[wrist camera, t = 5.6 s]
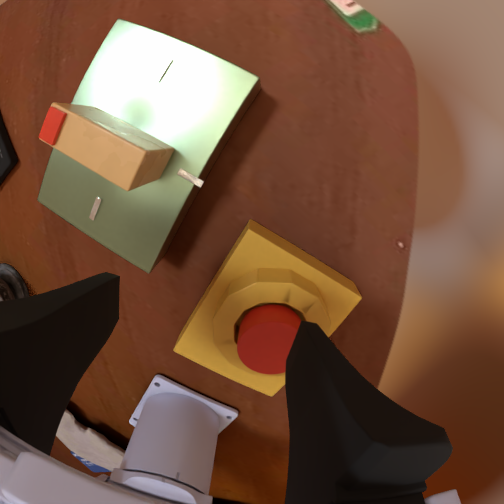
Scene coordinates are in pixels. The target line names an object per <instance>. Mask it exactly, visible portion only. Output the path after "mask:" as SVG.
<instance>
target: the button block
mask: <svg viewBox="0 0 504 504" xmlns="http://www.w3.org/2000/svg"><path fill="white" fill-rule="evenodd" d="M361 299H362V297H361V295H360V293H359V291H358V289H357V288H356V286H355V284H354V282H353V281H351V280H349V279H348V278H346V277H345V276H343V275H342V274H340V273H338V272H337V271H335V270H334V269H332V268H330V267H329V266H327V265H326V264H324V263H322V262H321V261H319V260H318V259H316V258H314V257H313V256H311V255H309V254H308V253H306V252H305V251H303V250H301V249H300V248H298V247H296V246H295V245H293V244H292V243H290V242H288V241H287V240H285V239H283V238H282V237H280V236H278V235H277V234H275V233H273V232H272V231H270V230H268V229H267V228H265V227H263V226H262V225H260V224H258V223H257V222H255V221H253V220H252V219H250V220H249V222H248V223H247V225H246V227H245V228H244V230H243V231H242V233H241V235H240V236H239V238H238V239H237V241H236V243H235V244H234V246H233V247H232V249H231V251H230V252H229V254H228V255H227V257H226V259H225V260H224V262H223V264H222V265H221V267H220V268H219V270H218V272H217V273H216V275H215V277H214V278H213V280H212V281H211V283H210V285H209V286H208V288H207V290H206V291H205V293H204V294H203V296H202V298H201V299H200V301H199V303H198V304H197V306H196V308H195V309H194V311H193V313H192V314H191V316H190V318H189V319H188V321H187V323H186V324H185V326H184V328H183V329H182V331H181V333H180V335H179V337H178V340H177V342H176V345H175V347H174V349H173V351H175V352H177V353H179V354H180V355H182V356H184V357H186V358H188V359H190V360H192V361H194V362H196V363H198V364H200V365H202V366H204V367H206V368H208V369H210V370H212V371H214V372H217V373H219V374H221V375H223V376H225V377H227V378H229V379H232V380H234V381H236V382H238V383H241V384H243V385H245V386H247V387H250V388H252V389H254V390H257V391H259V392H261V393H264V394H266V395H269V396H271V397H272V396H273V395H274V394H275V393H276V392H277V391H278V390H279V389H280V388H281V387H282V386H283V385H284V384H285V372H284V373H281V374H274V375H269V374H261V373H258V372H255V371H253V370H251V369H249V368H248V367H247V366H245V365H244V364H243V362H242V361H241V360H240V358H239V356H238V353H237V342H238V335H239V328H240V324H241V321H242V320H243V318H244V317H245V315H246V314H247V313H249V312H250V311H251V310H253V309H255V308H257V307H259V306H263V305H268V304H275V305H282V306H285V307H287V308H289V309H291V310H293V311H294V312H295V313H296V314H297V315H298V316H299V317H300V319H301V320H303V321H308V322H313V323H317V324H318V325H319V326H320V328H321V329H322V330H323V331H324V333H325V334H326V335H327V336H328V338H329V336H330V335H331V334H332V333H333V332H334V331H335V330H336V328H337V327H338V326H339V325H340V324H341V323H342V322H343V320H344V319H345V318H346V317H347V316H348V314H349V313H350V312H351V311H352V310H353V308H354V307H355V306H356V305H357V304H358V302H359V301H360V300H361Z"/></svg>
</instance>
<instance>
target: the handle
mask: <svg viewBox="0 0 504 504" xmlns="http://www.w3.org/2000/svg"><path fill="white" fill-rule="evenodd" d="M39 139H40V140H42V141H44V142H45V143H47V144H49V145H50V146H52V147H54V148H55V149H57V150H59V151H60V152H62V153H64V154H65V155H67V156H69V157H70V158H72V159H74V160H75V161H77V162H79V163H80V164H82V165H84V166H85V167H87V168H89V169H90V170H92V171H94V172H95V173H97V174H99V175H100V176H102V177H104V178H105V179H107V180H109V181H110V182H112V183H114V184H115V185H117V186H119V187H120V188H122V189H124V190H126V191H130V190H133V189H135V188H138V187H140V186H143V185H145V184H148V183H150V182H153V181H155V180H158V179H159V178H160V176H161V175H162V173H163V171H164V169H165V167H166V165H167V163H168V161H169V159H170V157H171V155H172V153H173V152H174V148H173V147H171V146H170V145H168V144H166V143H164V142H162V141H160V140H158V139H157V138H155V137H153V136H151V135H149V134H147V133H145V132H143V131H141V130H140V129H138V128H136V127H134V126H132V125H130V124H128V123H126V122H124V121H122V120H120V119H118V118H116V117H114V116H112V115H110V114H108V113H106V112H104V111H102V110H100V109H98V108H96V107H93V106H85V105H76V104H66V103H55V102H54V103H52V105H51V106H50V108H49V111H48V113H47V116H46V118H45V121H44V123H43V126H42V129H41V132H40V134H39Z"/></svg>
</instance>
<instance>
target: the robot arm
mask: <svg viewBox="0 0 504 504" xmlns="http://www.w3.org/2000/svg"><path fill="white" fill-rule="evenodd" d="M119 281H120V276H118V275H114V274H111V273H108V272H105V273H101V274H98V275H95V276H92V277H89V278H87V279H84V280H81V281H78V282H76V283H73V284H70V285H67V286H64V287H61V288H58V289H55V290H52V291H49V292H46V293H42V294H38V295H34V296H30V297H25V298H20V299H13V300H5V301H0V504H212V499H213V497H212V496H209V495H208V494H209V488H210V482H211V475H212V469H213V463H214V456H215V450H216V444H217V437H218V434H219V433H220V432H221V431H222V430H223V429H225V428H226V427H227V426H228V425H229V424H230V423H231V422H232V421H233V420H234V419H235V418H236V417H237V416H238V411H237V410H235V409H233V408H231V407H228V406H226V405H224V404H221V403H219V402H217V401H214V400H212V399H210V398H207V397H205V396H203V395H201V394H199V393H197V392H194V391H192V390H190V389H188V388H186V387H184V386H182V385H180V384H178V383H176V382H174V381H172V380H170V379H168V378H166V377H164V376H162V375H155V377H154V378H153V380H152V382H151V384H150V385H149V387H148V389H147V390H146V392H145V394H144V395H143V397H142V399H141V401H140V402H139V404H138V406H137V408H136V409H135V411H134V413H133V414H132V416H131V418H130V420H129V423H130V424H131V425H133V426H135V429H134V431H133V434H132V436H131V439H130V441H129V444H128V447H127V449H126V452H125V454H124V457H123V459H122V462H121V465H120V467H119V469H118V468H113V471H112V473H111V476H107V475H105V474H102V475H100V476H99V477H96V478H94V477H92V476H89V475H87V474H85V473H83V472H80V471H78V470H76V469H74V468H72V467H70V466H68V465H66V464H64V463H62V462H60V461H58V460H56V459H54V458H52V457H50V452H51V449H52V445H53V442H54V439H55V436H56V433H57V430H58V427H59V425H60V422H61V419H62V417H63V414H64V412H65V410H66V407H67V405H68V403H69V401H70V398H71V396H72V394H73V392H74V390H75V388H76V386H77V384H78V382H79V381H80V379H81V377H82V376H83V374H84V373H85V371H86V370H87V368H88V367H89V365H90V364H91V363H92V361H93V360H94V358H95V357H96V356H97V354H98V353H99V351H100V350H101V348H102V347H103V346H104V344H105V343H106V341H107V340H108V338H109V337H110V335H111V333H112V331H113V329H114V327H115V325H116V323H117V321H118V319H119ZM158 383H159V384H158ZM285 386H286V397H287V407H288V417H289V429H290V447H289V466H288V479H287V489H286V498H285V504H461V503H460V500H459V497H458V494H457V491H456V490H455V489H453V490H450V491H446V492H442V493H439V494H435V495H432V496H429V497H427V498H425V499H424V498H423V494H422V492H424V491H425V490H426V489H427V486H426V483H425V480H426V479H427V478H428V477H430V476H431V475H432V474H433V473H434V472H435V471H437V470H438V469H439V468H440V467H441V466H442V465H443V464H444V463H445V462H446V461H447V460H448V458H449V457H450V455H451V453H452V449H453V448H452V445H451V443H450V441H449V438H448V436H447V434H446V432H445V429H444V428H442V427H440V426H438V425H436V424H433V423H431V422H429V421H427V420H425V419H422V418H420V417H418V416H416V415H415V414H413V413H411V412H409V411H408V410H406V409H404V408H403V407H401V406H399V405H398V404H397V403H395V402H394V401H392V400H391V399H389V398H388V397H387V396H385V395H384V394H383V393H381V392H380V391H379V390H378V389H376V388H375V387H374V386H373V385H372V384H371V383H369V382H368V381H367V380H366V379H365V378H364V377H363V376H362V375H361V374H360V373H359V372H358V371H357V370H356V369H355V368H354V367H353V366H352V365H351V364H350V363H349V362H348V360H347V359H346V358H345V357H344V356H343V355H342V354H341V352H340V351H339V350H338V349H337V348H336V346H335V345H334V344H333V343H332V341H331V340H330V339H329V338H328V336H327V335H326V334H325V333H324V331H323V330H322V329H321V328H320V326H319V325H318V324H317V323H313V322H308V321H303V320H301V323H300V326H299V328H298V331H297V334H296V336H295V339H294V341H293V344H292V346H291V349H290V351H289V354H288V356H287V359H286V370H285Z"/></svg>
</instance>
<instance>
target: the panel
mask: <svg viewBox="0 0 504 504" xmlns="http://www.w3.org/2000/svg"><path fill="white" fill-rule="evenodd" d="M260 89H261V84H260V77H258V76H256V75H255V74H253V73H251V72H249V71H247V70H245V69H243V68H241V67H239V66H237V65H235V64H233V63H231V62H229V61H227V60H225V59H223V58H221V57H219V56H217V55H214V54H212V53H210V52H208V51H206V50H203V49H201V48H199V47H197V46H194V45H192V44H189V43H187V42H185V41H182V40H180V39H177V38H175V37H172V36H170V35H167V34H164V33H162V32H159V31H156V30H153V29H150V28H148V27H145V26H142V25H139V24H136V23H133V22H129V21H126V20H123V19H117V21H116V22H115V24H114V25H113V27H112V29H111V30H110V32H109V33H108V35H107V36H106V38H105V40H104V41H103V43H102V45H101V46H100V48H99V50H98V52H97V53H96V55H95V57H94V59H93V61H92V62H91V64H90V66H89V68H88V70H87V72H86V74H85V76H84V78H83V80H82V82H81V84H80V86H79V88H78V90H77V92H76V94H75V96H74V98H73V100H72V103H71V104H76V105H85V106H93V107H96V108H98V109H100V110H102V111H104V112H106V113H108V114H110V115H112V116H114V117H116V118H118V119H120V120H122V121H124V122H126V123H128V124H130V125H132V126H134V127H136V128H138V129H140V130H141V131H143V132H145V133H147V134H149V135H151V136H153V137H155V138H157V139H158V140H160V141H162V142H164V143H166V144H168V145H170V146H171V147H173V148H174V152H173V153H172V155H171V157H170V159H169V161H168V163H167V165H166V167H165V169H164V171H163V173H162V175H161V176H160V178H159V179H158V180H155V181H153V182H150V183H148V184H145V185H143V186H140V187H138V188H135V189H133V190H130V191H126V190H124V189H122V188H120V187H119V186H117V185H115V184H114V183H112V182H110V181H109V180H107V179H105V178H104V177H102V176H100V175H99V174H97V173H95V172H94V171H92V170H90V169H89V168H87V167H85V166H84V165H82V164H80V163H79V162H77V161H75V160H74V159H72V158H70V157H69V156H67V155H65V154H64V153H62V152H60V151H59V150H57V149H55V148H54V147H53V150H52V153H51V156H50V159H49V162H48V165H47V168H46V171H45V175H44V178H43V181H42V185H41V188H40V192H39V196H38V199H37V200H38V201H39V202H40V203H42V204H43V205H44V206H46V207H47V208H49V209H50V210H51V211H53V212H54V213H56V214H57V215H59V216H60V217H61V218H63V219H64V220H66V221H67V222H69V223H70V224H72V225H73V226H75V227H76V228H78V229H79V230H81V231H82V232H84V233H85V234H87V235H88V236H90V237H91V238H93V239H94V240H96V241H97V242H99V243H100V244H102V245H103V246H105V247H107V248H108V249H110V250H111V251H113V252H114V253H116V254H118V255H119V256H121V257H122V258H124V259H126V260H127V261H129V262H130V263H132V264H134V265H135V266H137V267H139V268H140V269H142V270H144V271H145V272H147V273H150V272H151V271H152V270H153V269H154V267H155V266H156V265H157V264H158V263H159V261H160V260H161V259H162V258H163V257H164V255H165V254H166V252H167V250H168V248H169V246H170V244H171V242H172V240H173V238H174V236H175V234H176V232H177V230H178V228H179V226H180V225H181V223H182V221H183V219H184V217H185V215H186V213H187V211H188V210H189V208H190V206H191V204H192V202H193V200H194V199H195V197H196V195H197V193H198V191H199V190H200V188H201V187H202V185H203V184H204V182H205V179H206V177H207V175H208V174H209V172H210V170H211V168H212V167H213V165H214V163H215V162H216V160H217V158H218V157H219V155H220V153H221V151H222V150H223V148H224V146H225V145H226V143H227V141H228V140H229V138H230V137H231V135H232V133H233V132H234V130H235V128H236V127H237V125H238V124H239V122H240V120H241V119H242V117H243V116H244V114H245V112H246V111H247V109H248V108H249V106H250V105H251V103H252V102H253V100H254V98H255V97H256V95H257V94H258V92H259V91H260Z"/></svg>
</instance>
